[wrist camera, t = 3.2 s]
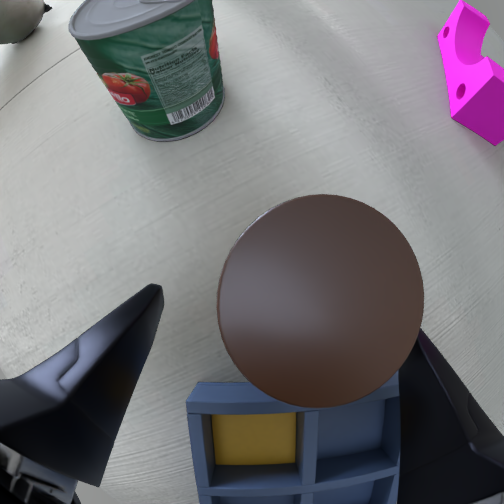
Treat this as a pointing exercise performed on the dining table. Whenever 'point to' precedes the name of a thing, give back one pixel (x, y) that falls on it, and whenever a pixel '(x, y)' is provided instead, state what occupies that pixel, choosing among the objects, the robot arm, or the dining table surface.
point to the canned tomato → (155, 61)
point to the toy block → (472, 74)
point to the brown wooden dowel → (320, 301)
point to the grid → (293, 447)
